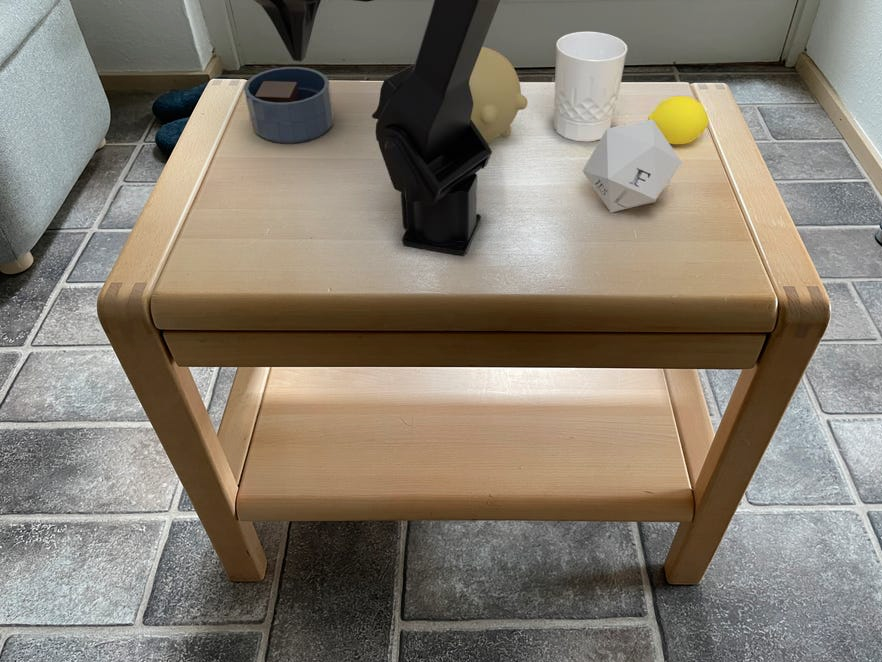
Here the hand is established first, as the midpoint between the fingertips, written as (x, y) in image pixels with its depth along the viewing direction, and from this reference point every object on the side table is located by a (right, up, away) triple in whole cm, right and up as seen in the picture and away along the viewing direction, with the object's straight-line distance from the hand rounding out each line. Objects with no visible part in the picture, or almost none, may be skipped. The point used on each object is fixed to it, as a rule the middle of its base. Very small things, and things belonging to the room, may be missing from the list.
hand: (299, 59), depth 72 cm
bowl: (-5, -1, +17) cm, 18 cm away
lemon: (+40, -3, +16) cm, 44 cm away
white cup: (+30, -1, +18) cm, 35 cm away
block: (-6, 0, +17) cm, 18 cm away
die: (+33, -12, +7) cm, 36 cm away
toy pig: (+17, -3, +16) cm, 23 cm away
